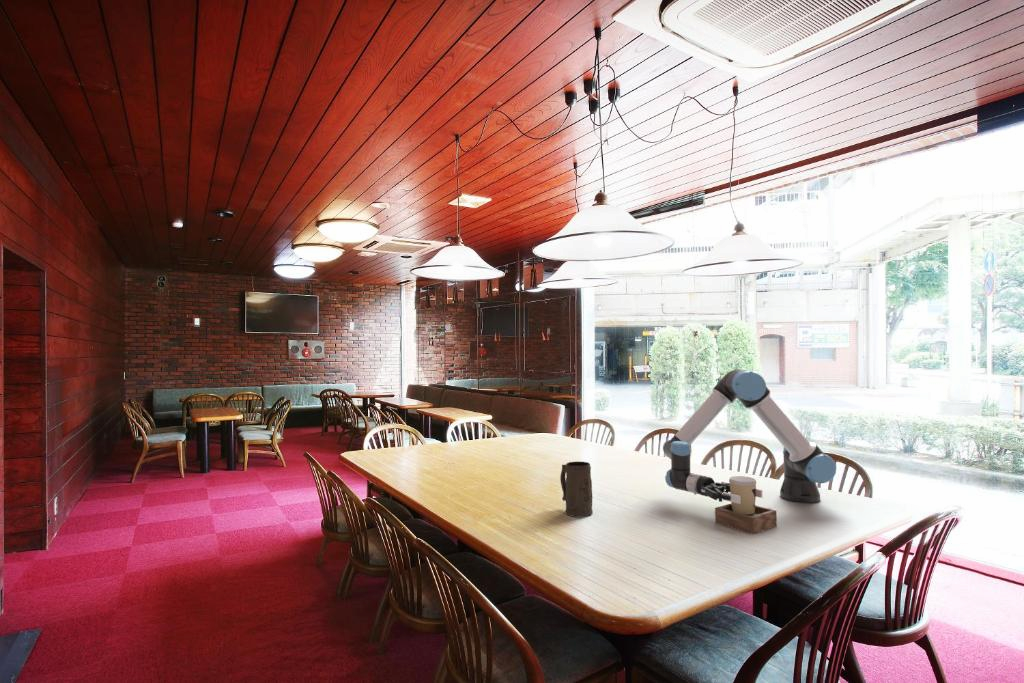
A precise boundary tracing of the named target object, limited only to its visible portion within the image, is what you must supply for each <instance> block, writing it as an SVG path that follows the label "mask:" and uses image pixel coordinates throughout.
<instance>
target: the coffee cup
mask: <svg viewBox="0 0 1024 683" xmlns="http://www.w3.org/2000/svg"><path fill="white" fill-rule="evenodd" d="M728 483H730V492H729V493H730V494H734V495H739V496H740V502H741V504H738V503H734V502H730V504H731V503H732V511H733V512H736V513H740V514H754V513H755V505H756V499H757V498H756V489H757V480H756V479H755V478H753V477H750V476H742V475H741V476H740V475H739V476H738V475H734V476H731V477H730V478H729V480H728Z"/></svg>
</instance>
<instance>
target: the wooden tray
mask: <svg viewBox="0 0 1024 683" xmlns="http://www.w3.org/2000/svg"><path fill="white" fill-rule="evenodd" d="M714 510H715V511H714V521H715V524H718V523H719V524H718V525H721V524H722V525H721V526H724V525H725V527H728V526H729V528H731V527H732V529H734V528H735V529H736V530H738V529H739V530H738V531H741V530H742V531H741V532H744V531H745V532H744V533H748V532H749V534H751V533H752V534H751V535H754V534H757V533H760V532H763V531H766V530H768V528H769V529H771V527H772V528H774V526H775V527H777V524H778V523H777V522H778V519H777V510H776V509H771V508H768V507H764V506H759V505H756V504H755V513H754V514H740V513H736V512H733V511H732V503H731V502H730V503H729V504H728V503H727V504H725V505H721V506H717V507H714ZM735 529H734V530H735ZM765 529H766V530H765ZM762 530H763V531H762ZM759 531H760V532H759ZM756 532H757V533H756ZM753 533H754V534H753Z"/></svg>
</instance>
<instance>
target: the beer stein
mask: <svg viewBox="0 0 1024 683" xmlns="http://www.w3.org/2000/svg"><path fill="white" fill-rule="evenodd" d="M591 469H592V468H591V464H590V462H587V461H569V462H567V463H566V464H561V473H560V477H559V480H560V485H561V490H562V494H563V496H562V498H561V499H562V502H565V511H564V512H566V513H567V514H569V515H573V516H587V517H590V516H591V514H593V511H594V510H593V481H592V480H593V479H592V473H591ZM566 513H565V514H566ZM567 514H566V515H567ZM569 515H568V516H569ZM589 515H590V516H589ZM573 516H572V517H573Z"/></svg>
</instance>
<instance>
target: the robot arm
mask: <svg viewBox="0 0 1024 683" xmlns="http://www.w3.org/2000/svg"><path fill="white" fill-rule="evenodd" d="M770 395H771V390H770V389H769V388H768V386H767V384H766V381H765V378H763V376H762V375H760V373H757V372H756V371H753V370H749V369H733V370H731V371H728V372H727V373H726V374H724V376H722V378H721V379H720V380H719V381H718V382H717V383H716V385H715V386H714V387H713V388H712V393H711V394H710V395H709V397H707V399H706V400H705V401H703V403H702V404H701V405H700V406H699V407H698V409H696V411H695V412H694V413H693V414H692V415H691V416H690V418H688V419H687V421H686V422H685V423H684V424H683V426H682V427H681V428H680V429H679V430H678V431H677V432H676V433H675V434H674V435H673V437H672V438H670V439H668V440H666V441H665V442H664V443H663V446H662V452H663V453H664V455H665V456H666V457H667V458H669V459H670V461H671V462H670V463H671V468H670V469H668V470H667V471H666V474H665V476H664V479H665V483H666V485H667V486H668V487H670V488H674V489H675V490H680V491H685V492H688V493H693V495H696V496H697V495H700V496H704V497H709V498H711V499H713V501H718V502H720V503H722V502H723V501H727V502H730V503H731V502H734V503H738V504H741V502H740V496H739V495H734V494H731V493H730V482H725V481H721V482H715V480H714V479H713V478H712V477H711V476H706V475H701V474H697V473H693V472H691V445H692V444H693V442H695V440H697V438H698V437H699V436H700V435H701V434H702V432H704V431H705V429H706V428H707V427H708V426H709V425H710V424H711V423H712V422H713V420H715V418H717V416H718V415H719V414H720V412H722V410H724V409H725V407H726V406H728V405H731V404H732V403H733V402H734V401H735V400H737V399H738V400H739V402H740V403H741V404H742V405H743V407H744V408H745V409H749V410H752V411H753V412H754V413H755V415H756V416H757V417H758V418H759V419H760V420H761V422H762V423H763V424H764V425H765V427H767V429H768V430H769V431H770V432H771V434H772V435H773V436H775V438H776V440H778V441H779V443H780V444H781V445H782V447H783V451H782V454H783V455H782V456H783V476H784V477H783V481H782V484H781V487H780V490H779V496H780V498H782V499H784V500H787V501H790V500H791V502H797V503H819V502H821V493H820V490H819V488H818V486H817V484H826V483H828V482H830V481H832V480H833V479H834V477H835V476H836V473H837V464H836V462H835V460H834V459H833V458H832V457H831V456H829V455H828V454H825V453H824V452H823V451H822V449H821V448H820V447H819V446H818V445H817V443H815V442H813V441H808V439H807V438H806V437H805V436H804V434H803V433H802V432H801V431H800V429H798V428H797V426H795V424H794V423H793V422H792V421H791V420H790V418H789V417H788V416H787V415H786V414H785V413H784V411H783V410H782V409H781V408H780V407H779V405H778V404H777V403H776V402H775V401H774V399H772V397H771V396H770ZM756 497H757V498H760V499H763V490H762V489H759V488H756Z"/></svg>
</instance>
